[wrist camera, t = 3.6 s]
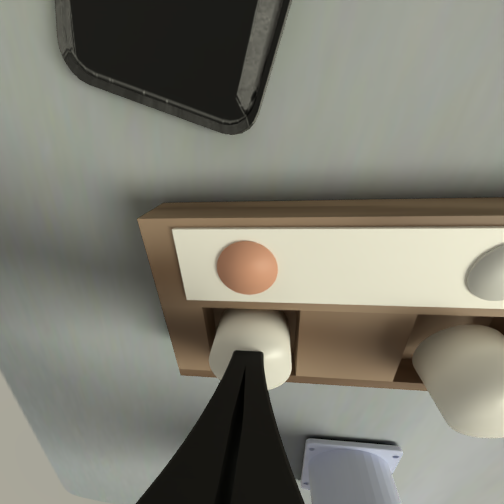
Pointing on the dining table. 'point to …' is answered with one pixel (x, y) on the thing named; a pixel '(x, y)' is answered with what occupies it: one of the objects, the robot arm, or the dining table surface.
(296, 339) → the button board
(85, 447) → the dining table surface
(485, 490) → the dining table surface
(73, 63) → the phone
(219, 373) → the end button
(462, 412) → the middle button
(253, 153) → the dining table surface
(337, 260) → the pattern card
